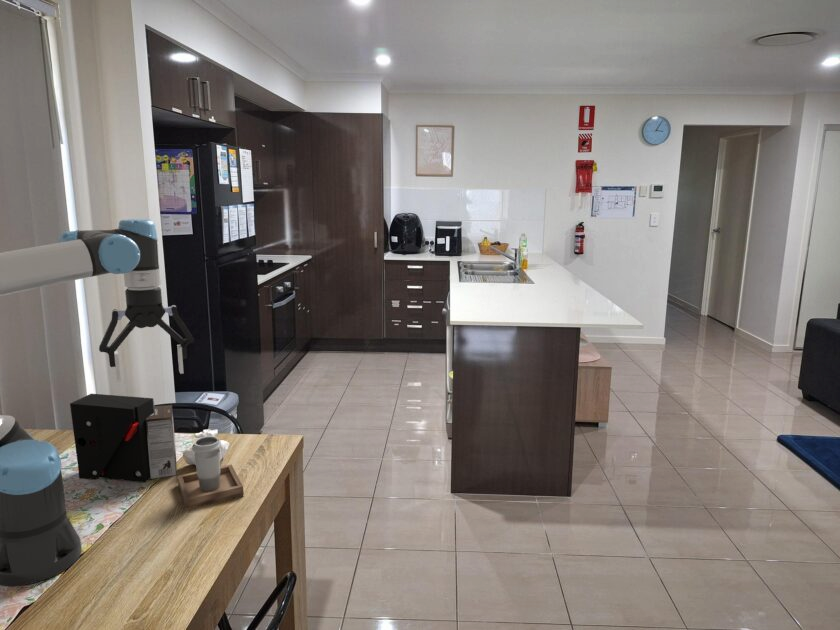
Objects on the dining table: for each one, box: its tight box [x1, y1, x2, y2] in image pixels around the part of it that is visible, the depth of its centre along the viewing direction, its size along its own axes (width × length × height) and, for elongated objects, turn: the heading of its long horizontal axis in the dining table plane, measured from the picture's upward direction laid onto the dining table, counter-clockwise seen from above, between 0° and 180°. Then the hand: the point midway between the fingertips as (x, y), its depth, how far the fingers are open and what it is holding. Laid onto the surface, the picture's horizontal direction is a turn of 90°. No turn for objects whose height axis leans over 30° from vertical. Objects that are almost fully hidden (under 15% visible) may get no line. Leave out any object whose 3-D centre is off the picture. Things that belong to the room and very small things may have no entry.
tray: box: [177, 464, 245, 510], centre depth 145 cm, size 13×13×2 cm
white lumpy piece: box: [182, 428, 230, 466], centre depth 158 cm, size 12×8×11 cm
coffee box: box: [146, 404, 178, 480], centre depth 154 cm, size 9×6×16 cm
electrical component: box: [69, 393, 156, 483], centre depth 151 cm, size 18×10×20 cm, turn 79°
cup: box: [191, 436, 222, 492], centre depth 144 cm, size 7×7×12 cm
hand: (150, 375), depth 142 cm, fingers open, 13 cm apart
